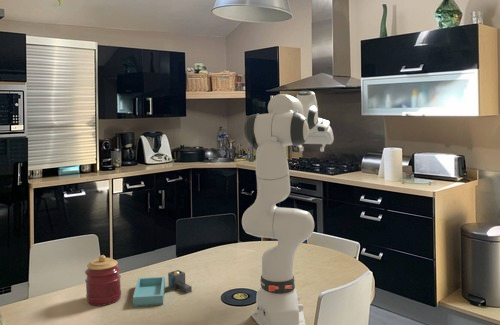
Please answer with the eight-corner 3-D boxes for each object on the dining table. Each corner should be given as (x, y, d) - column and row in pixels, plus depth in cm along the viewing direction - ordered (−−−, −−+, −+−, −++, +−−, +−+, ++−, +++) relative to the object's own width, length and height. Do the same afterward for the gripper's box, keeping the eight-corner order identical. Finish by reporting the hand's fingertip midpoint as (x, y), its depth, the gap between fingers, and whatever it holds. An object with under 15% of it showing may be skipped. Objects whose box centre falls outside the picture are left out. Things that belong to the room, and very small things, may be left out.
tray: (163, 304, 172) (162, 295, 171) (133, 306, 170) (132, 297, 170) (165, 284, 191) (164, 276, 191) (138, 286, 190) (138, 278, 189)
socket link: (168, 286, 189) (168, 272, 189) (178, 283, 193) (178, 269, 192) (183, 294, 181) (183, 279, 181) (194, 290, 185) (193, 276, 184)
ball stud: (180, 287, 188) (180, 272, 187) (173, 288, 188) (172, 272, 187) (180, 285, 191) (180, 270, 190) (173, 285, 190) (173, 270, 190)
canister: (119, 290, 186) (118, 248, 184) (123, 303, 174) (121, 258, 172) (85, 295, 181) (83, 252, 179) (87, 308, 169) (84, 262, 167)
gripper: (284, 128, 203) (288, 153, 210) (330, 128, 196) (332, 155, 203) (288, 121, 207) (291, 146, 215) (333, 121, 200) (335, 147, 208)
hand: (312, 150), depth 209 cm, fingers open, 8 cm apart
